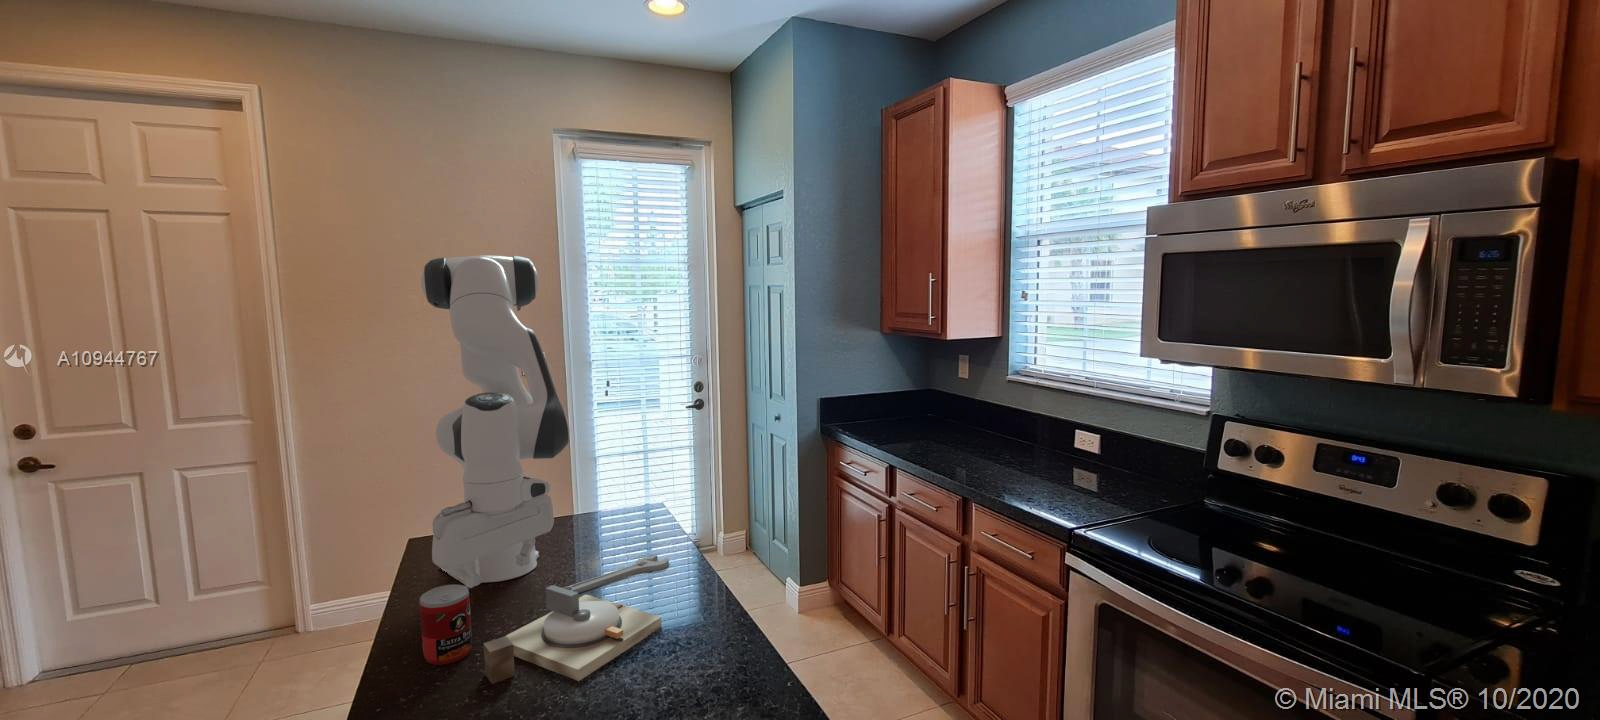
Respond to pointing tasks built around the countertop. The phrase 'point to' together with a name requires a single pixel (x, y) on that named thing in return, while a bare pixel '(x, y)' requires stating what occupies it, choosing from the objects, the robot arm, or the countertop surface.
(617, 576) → the adjustable wrench
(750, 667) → the countertop surface
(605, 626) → the dial
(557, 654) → the panel
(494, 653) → the block
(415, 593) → the countertop surface
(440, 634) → the canned food
